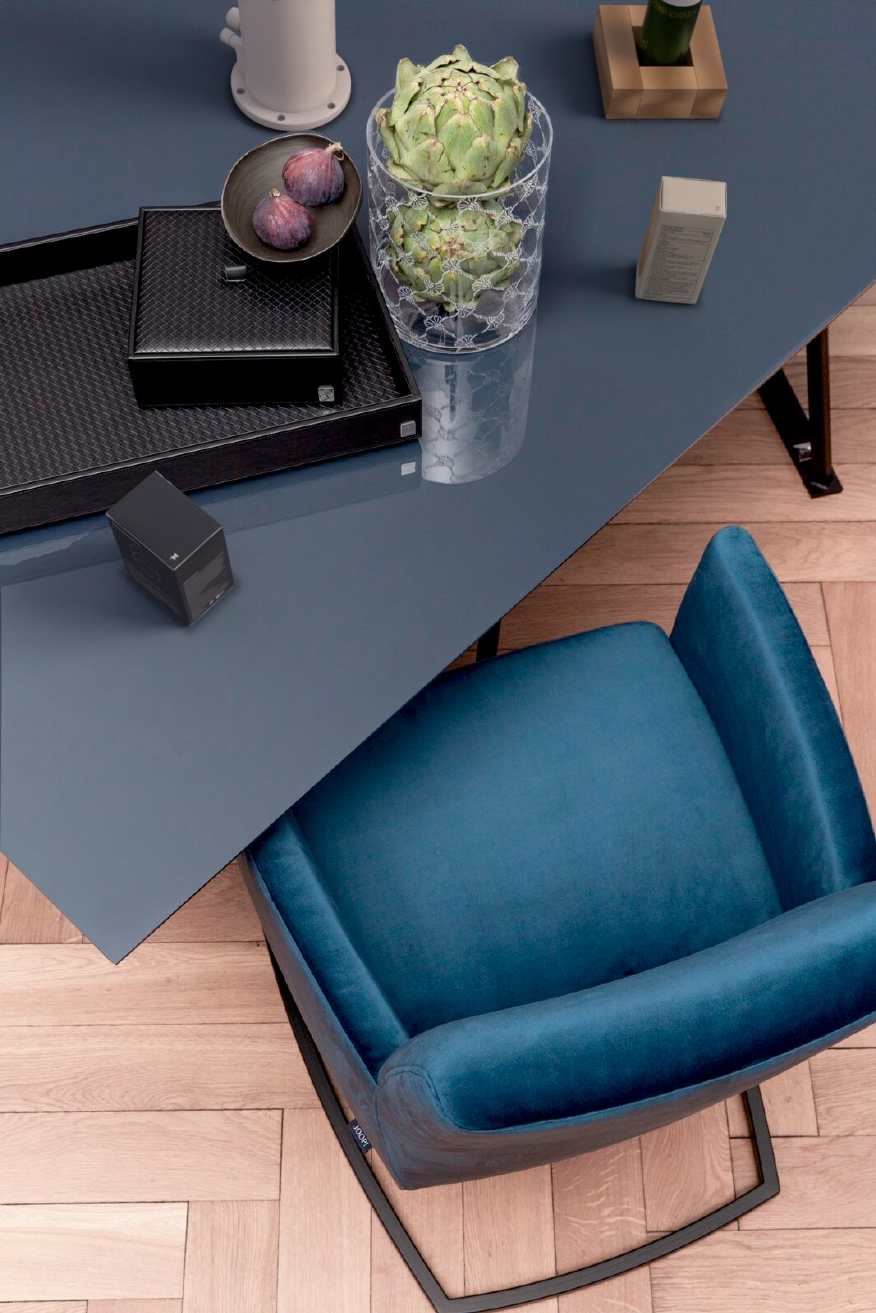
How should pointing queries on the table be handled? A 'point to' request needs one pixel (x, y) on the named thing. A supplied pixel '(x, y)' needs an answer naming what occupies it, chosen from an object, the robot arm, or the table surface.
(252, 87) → the robot arm
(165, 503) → the box
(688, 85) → the holder
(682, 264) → the cosmetic box
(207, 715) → the table surface
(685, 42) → the beer can
